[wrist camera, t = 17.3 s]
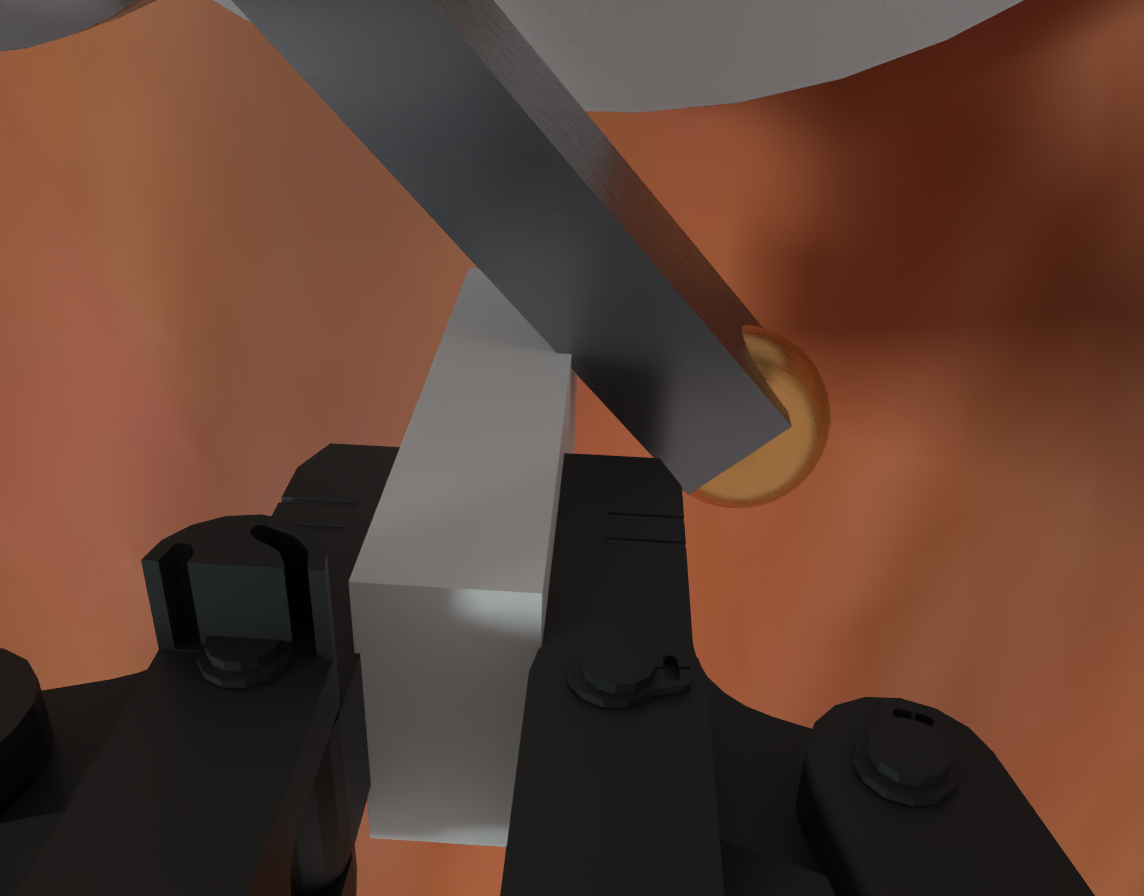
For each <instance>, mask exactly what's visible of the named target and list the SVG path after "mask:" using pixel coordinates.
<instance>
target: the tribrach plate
mask: <svg viewBox="0 0 1144 896" xmlns="http://www.w3.org/2000/svg"><path fill="white" fill-rule="evenodd" d="M213 1H215V2H217V3H218V4H220V5H222V6H223V7H225V8H227V9H228V10H230V11H232V12H233V13H235V14H236V15H238V16H240V17H241V18H244V19H246V20H248V21H250V20H249V19H248V18H247V17H246V16H245V14H244V13H243V12H242V11H241V10H240V9H239V8H238V7H237V6H236V5H235V4H234V3H233V1H232V0H213ZM494 1H495V3H496V4H497V5H498V6H499V7H500V9H501V10H502V11H503V12H504V14H505V15H506V16H507V17H508V18H509V20H510V21H511V22H512V23H513V24H514V26H515V27H516V28H517V29H518V31H519V32H520V33H521V34H522V35H523V37H524V38H525V39H526V40H527V41H528V43H529V44H530V45H531V46H532V48H533V49H534V50H535V51H536V52H537V54H538V55H539V56H540V57H541V59H542V60H543V61H544V62H545V63H546V65H547V66H548V67H549V68H550V69H551V71H552V72H553V73H554V74H555V76H556V77H557V78H558V79H559V80H560V82H561V83H562V84H563V85H564V86H565V88H566V89H567V90H568V91H569V93H570V94H571V95H572V96H573V97H574V99H575V100H576V101H577V102H578V103H579V105H580V106H581V107H582V108H583V110H584V111H604V112H633V113H639V112H649V111H659V110H669V109H679V108H690V107H700V106H710V105H720V104H730V103H740V102H744V101H748V100H752V99H757V98H761V97H765V96H770V95H774V94H778V93H782V92H787V91H791V90H795V89H800V88H804V87H808V86H812V85H817V84H821V83H825V82H830V81H834V80H838V79H842V78H845V77H848V76H850V75H853V74H856V73H859V72H861V71H864V70H867V69H869V68H872V67H875V66H877V65H880V64H883V63H886V62H888V61H891V60H894V59H896V58H899V57H902V56H904V55H907V54H910V53H912V52H915V51H918V50H921V49H923V48H926V47H929V46H931V45H934V44H937V43H939V42H942V41H945V40H947V39H949V38H951V37H953V36H955V35H957V34H959V33H961V32H963V31H965V30H967V29H969V28H971V27H973V26H975V25H977V24H979V23H980V22H982V21H984V20H986V19H988V18H990V17H992V16H994V15H996V14H998V13H1000V12H1002V11H1004V10H1006V9H1008V8H1010V7H1012V6H1014V5H1016V4H1017V3H1019V2H1021V1H1023V0H494ZM250 22H251V21H250Z"/></svg>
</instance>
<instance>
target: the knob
mask: <svg viewBox="0 0 1144 896" xmlns="http://www.w3.org/2000/svg"><path fill="white" fill-rule="evenodd" d="M154 1H156V0H0V51H7V50H15V49H23V48H28V47H32V46H35V45H39V44H42V43H46V42H49V41H53V40H56V39H60V38H63V37H67V36H70V35H72V34H75V33H78V32H81V31H84V30H86V29H89V28H92V27H95V26H98V25H100V24H103V23H106V22H109V21H112V20H114V19H117V18H120V17H122V16H124V15H126V14H128V13H131V12H133V11H135V10H137V9H139V8H141V7H143V6H146V5H148V4H150V3H152V2H154ZM232 1H233V3H234V4H235V5H236V6H237V7H238V8H239V9H240V10H241V11H242V12H243V13H244V14H245V16H246V17H247V18H248V19H249V20H250V21H251V22H252V23H253V24H254V25H255V26H256V27H257V29H258V30H259V31H260V32H261V33H262V34H263V35H264V36H265V37H266V38H267V39H268V40H269V42H270V43H271V44H272V45H273V46H274V47H275V48H276V49H277V50H278V51H279V52H280V53H281V55H282V56H283V57H284V58H285V59H286V60H287V61H288V62H289V63H290V64H291V65H292V66H293V68H294V69H295V70H296V71H297V72H298V73H299V74H300V75H301V76H302V77H303V78H304V79H305V81H306V82H307V83H308V84H309V85H310V86H311V87H312V88H313V89H314V90H315V91H316V92H317V94H318V95H319V96H320V97H321V98H322V99H323V100H324V101H325V102H326V103H327V104H328V105H329V107H330V108H331V109H332V110H333V111H334V112H335V113H336V114H337V115H338V116H339V117H340V118H341V120H342V121H343V122H344V123H345V124H346V125H347V126H348V127H349V128H350V129H351V130H352V131H353V133H354V134H355V135H356V136H357V137H358V138H359V139H360V140H361V141H362V142H363V143H364V144H365V146H366V147H367V148H368V149H369V150H370V151H371V152H372V153H373V154H374V155H375V156H376V157H377V159H378V160H379V161H380V162H381V163H382V164H383V165H384V166H385V167H386V168H387V169H388V170H389V172H390V173H391V174H392V175H393V176H394V177H395V178H396V179H397V180H398V181H399V182H400V183H401V185H402V186H403V187H404V188H405V189H406V190H407V191H408V192H409V193H410V194H411V195H412V196H413V198H414V199H415V200H416V201H417V202H418V203H419V204H420V205H421V206H422V207H423V208H424V209H425V211H426V212H427V213H428V214H429V215H430V216H431V217H432V218H433V219H434V220H435V221H436V222H437V224H438V225H439V226H440V227H441V228H442V229H443V230H444V231H445V232H446V233H447V234H448V235H449V237H450V238H451V239H452V240H453V241H454V242H455V243H456V244H457V245H458V246H459V247H460V248H461V250H462V251H463V252H464V253H465V254H466V255H467V256H468V257H469V258H470V259H471V260H472V261H473V263H474V264H475V265H476V266H477V267H478V268H479V269H480V270H481V271H482V272H483V273H484V274H485V276H486V277H487V278H488V279H489V280H490V281H491V282H492V283H493V284H494V285H495V286H496V287H497V289H498V290H499V291H500V292H501V293H502V294H503V295H504V296H505V297H506V298H507V299H508V300H509V301H510V303H511V304H512V305H513V306H514V307H515V308H516V309H517V310H518V311H519V312H520V313H521V314H522V316H523V317H524V318H525V319H526V320H527V321H528V322H529V323H530V324H531V325H532V326H533V327H534V329H535V330H536V331H537V332H538V333H539V334H540V335H541V336H542V337H543V338H544V339H545V340H546V342H547V343H548V344H549V345H550V346H551V347H552V348H553V349H554V350H555V351H556V352H557V353H561V354H572V356H571V369H572V370H573V371H574V372H575V373H576V374H577V375H578V376H579V377H580V378H581V379H582V381H583V382H584V383H585V384H586V385H587V386H588V387H589V388H590V389H591V390H592V391H593V392H594V394H595V395H596V396H597V397H598V398H599V399H600V400H601V401H602V402H603V403H604V404H605V405H606V407H607V408H608V409H609V410H610V411H611V412H612V413H613V414H614V415H615V416H616V417H617V418H618V420H619V421H620V422H621V423H622V424H623V425H624V426H625V427H626V428H627V429H628V430H629V431H630V433H631V434H632V435H633V436H634V437H635V438H636V439H637V440H638V441H639V442H640V443H641V444H642V446H643V447H644V448H645V449H646V450H647V451H648V452H649V453H650V454H651V455H652V456H653V457H654V458H660V459H661V460H662V462H663V463H664V464H665V465H666V467H667V468H668V469H669V471H670V472H671V473H672V474H673V476H674V477H675V478H676V479H677V481H678V482H679V483H680V484H681V486H682V490H683V491H684V492H685V493H687V494H688V495H690V496H692V497H694V498H696V499H698V500H700V501H702V502H705V503H707V504H711V505H714V506H719V507H725V508H749V507H755V506H760V505H763V504H767V503H770V502H772V501H775V500H777V499H779V498H781V497H783V496H785V495H787V494H788V493H790V492H791V491H792V490H794V489H795V488H796V487H798V486H799V485H800V484H801V483H802V482H803V481H804V480H805V479H806V478H807V477H808V476H809V474H810V473H811V472H812V471H813V470H814V468H815V466H816V465H817V463H818V462H819V460H820V458H821V455H822V453H823V451H824V449H825V446H826V443H827V440H828V436H829V429H830V422H831V409H830V403H829V397H828V392H827V389H826V386H825V383H824V381H823V379H822V377H821V375H820V373H819V371H818V369H817V367H816V366H815V364H814V363H813V362H812V360H811V359H810V358H809V357H808V356H807V355H806V354H805V353H804V351H803V350H802V349H801V348H800V347H798V346H797V345H796V344H795V343H793V342H792V341H790V340H789V339H787V338H785V337H784V336H782V335H780V334H778V333H775V332H773V331H771V330H768V329H765V328H763V327H762V326H761V325H760V324H759V322H758V321H757V320H756V319H755V318H754V316H753V315H752V314H751V313H750V311H749V310H748V309H747V308H746V307H745V305H744V304H743V303H742V302H741V301H740V299H739V298H738V297H737V296H736V294H735V293H734V292H733V291H732V290H731V288H730V287H729V286H728V285H727V283H726V282H725V281H724V280H723V279H722V277H721V276H720V275H719V274H718V273H717V271H716V270H715V269H714V268H713V266H712V265H711V264H710V263H709V262H708V260H707V259H706V258H705V257H704V256H703V254H702V253H701V252H700V251H699V249H698V248H697V247H696V246H695V245H694V243H693V242H692V241H691V240H690V238H689V237H688V236H687V235H686V234H685V232H684V231H683V230H682V229H681V228H680V226H679V225H678V224H677V223H676V221H675V220H674V219H673V218H672V217H671V215H670V214H669V213H668V212H667V211H666V209H665V208H664V207H663V206H662V204H661V203H660V202H659V201H658V200H657V198H656V197H655V196H654V195H653V193H652V192H651V191H650V190H649V189H648V187H647V186H646V185H645V184H644V183H643V181H642V180H641V179H640V178H639V176H638V175H637V174H636V173H635V172H634V170H633V169H632V168H631V167H630V166H629V164H628V163H627V162H626V161H625V159H624V158H623V157H622V156H621V155H620V153H619V152H618V151H617V150H616V148H615V147H614V146H613V145H612V144H611V142H610V141H609V140H608V139H607V138H606V136H605V135H604V134H603V133H602V131H601V130H600V129H599V128H598V127H597V125H596V124H595V123H594V122H593V121H592V119H591V118H590V117H589V116H588V114H587V113H586V112H585V111H584V110H583V108H582V107H581V106H580V105H579V103H578V102H577V101H576V100H575V99H574V97H573V96H572V95H571V94H570V93H569V91H568V90H567V89H566V88H565V86H564V85H563V84H562V83H561V82H560V80H559V79H558V78H557V77H556V76H555V74H554V73H553V72H552V71H551V69H550V68H549V67H548V66H547V65H546V63H545V62H544V61H543V60H542V59H541V57H540V56H539V55H538V54H537V52H536V51H535V50H534V49H533V48H532V46H531V45H530V44H529V43H528V41H527V40H526V39H525V38H524V37H523V35H522V34H521V33H520V32H519V31H518V29H517V28H516V27H515V26H514V24H513V23H512V22H511V21H510V20H509V18H508V17H507V16H506V15H505V14H504V12H503V11H502V10H501V9H500V7H499V6H498V5H497V4H496V3H495V1H494V0H232Z"/></svg>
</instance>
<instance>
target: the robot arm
mask: <svg viewBox="0 0 1144 896" xmlns="http://www.w3.org/2000/svg"><path fill="white" fill-rule="evenodd" d="M571 356H572V354H561V353H557V352H556V351H555V350H554V349H553V348H552V347H551V346H550V345H549V344H548V343H547V342H546V340H545V339H544V338H543V337H542V336H541V335H540V334H539V333H538V332H537V331H536V330H535V329H534V327H533V326H532V325H531V324H530V323H529V322H528V321H527V320H526V319H525V318H524V317H523V316H522V314H521V313H520V312H519V311H518V310H517V309H516V308H515V307H514V306H513V305H512V304H511V303H510V301H509V300H508V299H507V298H506V297H505V296H504V295H503V294H502V293H501V292H500V291H499V290H498V289H497V287H496V286H495V285H494V284H493V283H492V282H491V281H490V280H489V279H488V278H487V277H486V276H485V274H484V273H483V272H482V271H481V270H480V269H476V268H469V269H468V272H467V274H466V277H465V279H464V282H463V285H462V287H461V290H460V292H459V295H458V298H457V300H456V303H455V305H454V308H453V311H452V313H451V316H450V318H449V321H448V324H447V326H446V329H445V332H444V334H443V337H442V339H441V342H440V345H439V347H438V350H437V352H436V355H435V358H434V360H433V363H432V365H431V368H430V371H429V373H428V376H427V378H426V381H425V384H424V386H423V389H422V391H421V394H420V397H419V399H418V402H417V404H416V407H415V410H414V412H413V415H412V418H411V420H410V423H409V425H408V428H407V431H406V433H405V436H404V438H403V441H402V444H401V446H400V447H385V446H367V445H349V444H331V443H330V444H329V445H328V446H326V447H325V448H324V449H322V450H321V451H319V452H318V453H317V454H315V455H314V456H313V457H311V458H310V459H309V460H307V461H306V462H304V463H303V464H302V465H300V466H299V467H298V468H297V469H296V471H295V473H294V475H293V477H292V479H291V481H290V482H289V484H288V486H287V488H286V490H285V492H284V494H283V496H282V502H281V503H278V505H277V507H276V509H275V511H274V512H273V514H272V516H266V515H241V516H225V517H221V518H217V519H213V520H209V521H205V522H201V523H198V524H194V525H191V526H189V527H187V528H185V529H183V530H181V531H179V532H177V533H175V534H173V535H171V536H169V537H167V538H165V539H163V540H161V541H160V542H159V543H158V544H157V545H156V546H155V547H154V548H153V549H152V550H151V551H150V552H149V553H148V554H147V555H146V556H145V557H144V558H143V559H142V560H141V562H142V567H143V572H144V577H145V582H146V587H147V592H148V597H149V602H150V607H151V612H152V617H153V622H154V627H155V632H156V637H157V642H158V647H159V651H158V652H157V654H156V656H155V657H154V659H153V661H152V663H151V664H150V666H149V668H148V669H147V670H145V671H142V672H140V673H136V674H132V675H127V676H123V677H119V678H115V679H111V680H104V681H98V682H92V683H86V684H80V685H74V686H68V687H62V688H55V689H49V690H43V691H41V688H40V684H39V681H38V678H37V676H36V675H35V673H34V671H33V669H32V668H31V666H30V664H29V662H28V661H27V660H26V659H24V658H22V657H20V656H18V655H16V654H14V653H12V652H10V651H8V650H6V649H3V648H0V896H356V887H357V864H356V854H355V840H356V837H357V833H358V830H359V826H360V823H361V819H362V815H363V812H364V808H365V805H366V801H367V806H368V818H369V830H370V838H382V839H397V840H412V841H427V842H442V843H454V844H469V845H484V846H499V847H506V855H505V863H504V870H503V878H502V886H501V894H500V896H1095V895H1094V894H1093V892H1092V891H1091V889H1090V888H1089V887H1088V885H1087V884H1086V882H1085V881H1084V880H1083V878H1082V877H1081V875H1080V874H1079V872H1078V871H1077V870H1076V868H1075V867H1074V865H1073V864H1072V863H1071V861H1070V860H1069V858H1068V857H1067V856H1066V854H1065V853H1064V851H1063V850H1062V848H1061V847H1060V846H1059V844H1058V843H1057V841H1056V840H1055V839H1054V837H1053V836H1052V834H1051V833H1050V831H1049V830H1048V829H1047V827H1046V826H1045V824H1044V823H1043V822H1042V820H1041V819H1040V817H1039V816H1038V815H1037V813H1036V812H1035V810H1034V809H1033V807H1032V806H1031V805H1030V803H1029V802H1028V800H1027V799H1026V798H1025V796H1024V795H1023V793H1022V792H1021V790H1020V789H1019V788H1018V786H1017V785H1016V783H1015V782H1014V781H1013V779H1012V778H1011V776H1010V775H1009V774H1008V772H1007V771H1006V769H1005V768H1004V766H1003V765H1002V764H1001V762H1000V761H999V759H998V758H997V757H996V755H995V754H994V752H993V751H992V750H991V749H990V748H989V747H988V746H987V745H986V744H985V743H984V742H983V741H982V740H981V739H980V738H979V737H978V736H977V735H976V734H975V733H974V732H973V731H972V730H971V729H970V728H969V727H967V726H965V725H964V724H962V723H960V722H958V721H957V720H955V719H953V718H951V717H950V716H948V715H946V714H944V713H943V712H941V711H939V710H937V709H935V708H932V707H929V706H925V705H922V704H918V703H915V702H911V701H908V700H904V699H901V698H878V697H863V698H860V699H856V700H853V701H849V702H846V703H842V704H839V705H835V706H834V707H833V708H831V709H830V710H829V711H828V712H827V713H826V714H824V715H823V716H822V717H821V718H820V719H818V720H817V721H816V722H815V723H814V726H813V729H811V728H807V727H804V726H801V725H798V724H794V723H791V722H788V721H785V720H781V719H778V718H775V717H772V716H769V715H767V714H764V713H762V712H759V711H757V710H754V709H752V708H749V707H747V706H745V705H743V704H742V703H740V702H738V701H737V700H735V699H734V698H732V697H730V696H729V695H727V694H725V693H724V692H723V691H722V690H721V689H720V688H719V687H718V686H717V685H716V684H715V683H713V682H712V681H711V680H710V679H709V678H708V677H707V675H706V674H705V672H704V670H703V669H702V667H701V665H700V662H699V659H698V658H697V657H696V654H695V650H694V646H693V640H692V626H691V611H690V597H689V583H688V568H687V554H686V548H685V543H686V540H685V526H684V511H683V497H682V486H681V484H680V483H679V482H678V481H677V479H676V478H675V477H674V476H673V474H672V473H671V472H670V471H669V469H668V468H667V467H666V465H665V464H664V463H663V462H662V460H661V459H660V458H643V457H625V456H607V455H589V454H574V444H575V420H576V395H577V374H576V373H575V372H574V371H573V370H572V369H571Z"/></svg>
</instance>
